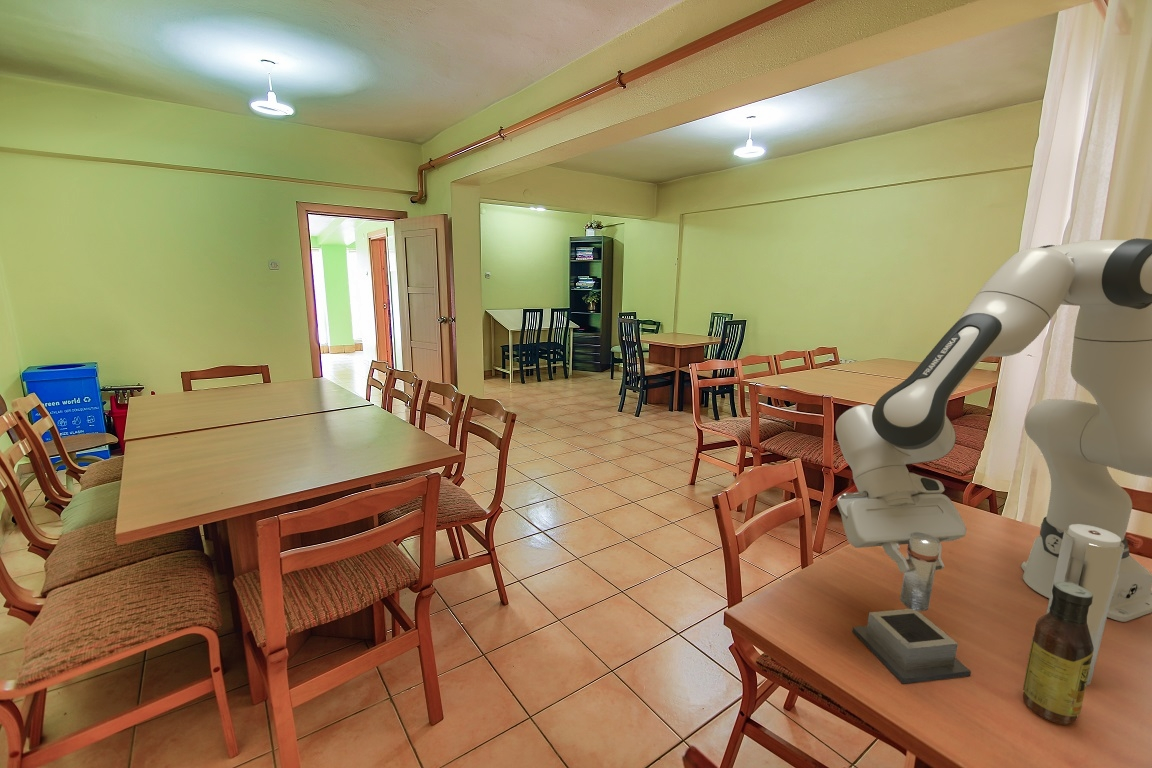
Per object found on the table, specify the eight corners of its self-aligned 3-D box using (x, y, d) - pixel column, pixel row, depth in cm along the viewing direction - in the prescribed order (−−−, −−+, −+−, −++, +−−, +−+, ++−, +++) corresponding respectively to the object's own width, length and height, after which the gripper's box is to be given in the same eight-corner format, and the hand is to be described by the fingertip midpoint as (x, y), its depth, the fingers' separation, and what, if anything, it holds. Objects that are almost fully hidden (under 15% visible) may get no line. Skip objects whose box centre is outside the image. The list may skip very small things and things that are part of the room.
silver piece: (1102, 689, 77) (1139, 544, 72) (1053, 683, 78) (1086, 540, 73) (1070, 659, 83) (1102, 523, 78) (1026, 653, 85) (1054, 519, 80)
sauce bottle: (1083, 735, 70) (1115, 611, 65) (1025, 715, 73) (1051, 595, 69) (1069, 702, 75) (1097, 585, 71) (1016, 684, 78) (1039, 572, 74)
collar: (911, 625, 92) (915, 602, 91) (970, 676, 80) (975, 649, 79) (852, 631, 90) (855, 607, 89) (902, 684, 78) (906, 656, 77)
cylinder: (915, 594, 85) (925, 531, 83) (935, 610, 81) (947, 544, 79) (893, 596, 85) (903, 532, 82) (912, 612, 81) (923, 546, 78)
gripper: (843, 486, 85) (876, 570, 77) (949, 481, 87) (992, 561, 80) (824, 499, 90) (854, 579, 82) (925, 493, 92) (963, 570, 85)
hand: (923, 570), depth 81 cm, fingers closed on cylinder, 4 cm apart
